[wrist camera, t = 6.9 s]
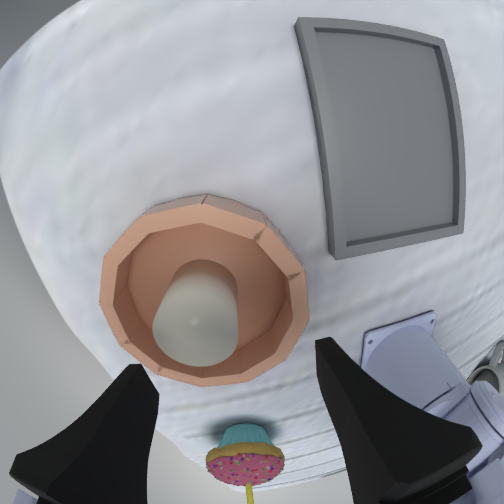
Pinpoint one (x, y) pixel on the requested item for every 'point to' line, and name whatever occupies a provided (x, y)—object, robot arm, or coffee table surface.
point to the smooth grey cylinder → (198, 314)
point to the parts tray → (384, 134)
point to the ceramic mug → (491, 371)
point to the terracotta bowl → (223, 252)
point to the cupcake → (245, 458)
